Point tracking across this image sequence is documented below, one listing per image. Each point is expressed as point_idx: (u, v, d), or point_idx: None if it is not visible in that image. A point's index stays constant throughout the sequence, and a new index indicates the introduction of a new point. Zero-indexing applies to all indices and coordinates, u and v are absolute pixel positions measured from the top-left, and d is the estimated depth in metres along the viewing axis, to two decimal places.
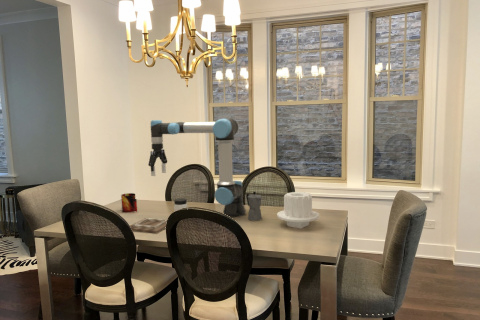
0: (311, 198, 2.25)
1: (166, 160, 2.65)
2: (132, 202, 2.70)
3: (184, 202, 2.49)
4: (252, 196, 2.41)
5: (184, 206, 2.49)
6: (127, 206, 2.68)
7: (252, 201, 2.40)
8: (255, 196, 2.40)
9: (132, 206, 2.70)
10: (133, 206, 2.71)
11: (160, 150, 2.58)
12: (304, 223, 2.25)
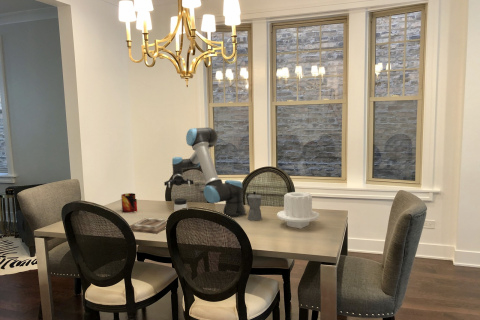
0: (311, 198, 2.25)
1: (191, 180, 2.70)
2: (132, 202, 2.70)
3: (184, 202, 2.49)
4: (252, 196, 2.41)
5: (184, 206, 2.49)
6: (127, 206, 2.68)
7: (252, 201, 2.40)
8: (255, 196, 2.40)
9: (132, 206, 2.70)
10: (133, 206, 2.71)
11: (181, 179, 2.76)
12: (304, 223, 2.25)
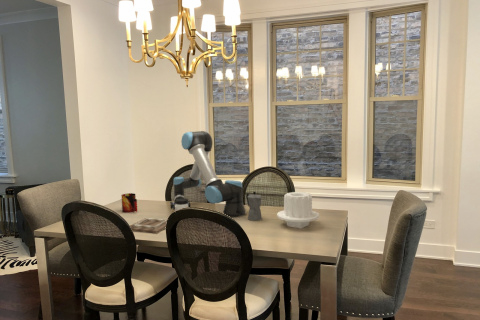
0: (311, 198, 2.25)
1: (188, 203, 2.58)
2: (132, 202, 2.70)
3: (186, 202, 2.50)
4: (252, 196, 2.41)
5: (186, 206, 2.50)
6: (127, 206, 2.68)
7: (252, 201, 2.40)
8: (255, 196, 2.40)
9: (132, 206, 2.70)
10: (133, 206, 2.70)
11: None
12: (304, 223, 2.25)
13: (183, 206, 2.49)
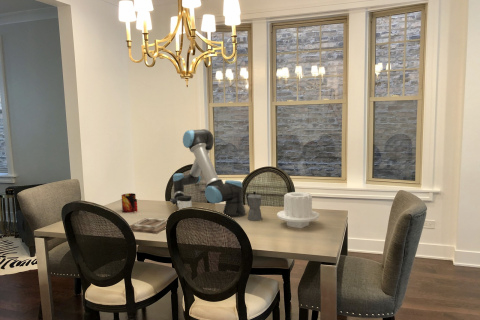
0: (311, 198, 2.25)
1: None
2: (132, 202, 2.69)
3: (189, 199, 2.49)
4: (252, 196, 2.41)
5: (189, 203, 2.49)
6: (127, 206, 2.68)
7: (252, 201, 2.40)
8: (255, 196, 2.40)
9: (132, 206, 2.70)
10: (133, 206, 2.70)
11: None
12: (304, 223, 2.25)
13: (186, 203, 2.48)
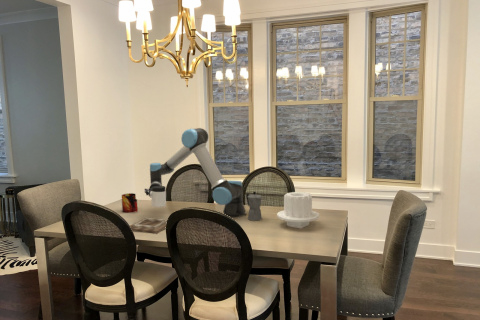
0: (311, 198, 2.25)
1: None
2: (132, 202, 2.69)
3: (162, 189, 2.33)
4: (252, 196, 2.41)
5: (162, 194, 2.33)
6: (127, 206, 2.68)
7: (252, 201, 2.40)
8: (255, 196, 2.40)
9: (132, 206, 2.70)
10: (133, 206, 2.70)
11: None
12: (304, 223, 2.25)
13: (159, 194, 2.32)
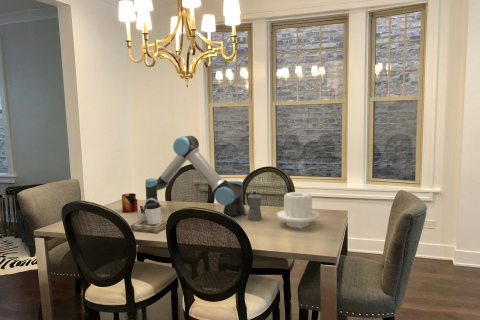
0: (311, 198, 2.25)
1: None
2: (133, 202, 2.69)
3: (157, 206, 2.29)
4: (252, 196, 2.41)
5: (157, 210, 2.29)
6: (128, 206, 2.68)
7: (252, 201, 2.40)
8: (255, 196, 2.40)
9: (133, 206, 2.69)
10: (133, 206, 2.70)
11: None
12: (304, 223, 2.25)
13: (153, 211, 2.28)
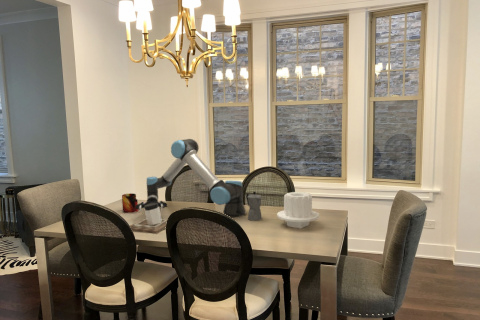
0: (311, 198, 2.25)
1: (165, 203, 2.53)
2: (133, 202, 2.69)
3: (155, 206, 2.29)
4: (252, 196, 2.41)
5: (156, 210, 2.29)
6: (128, 206, 2.68)
7: (252, 201, 2.40)
8: (255, 196, 2.40)
9: (133, 206, 2.69)
10: (134, 206, 2.70)
11: None
12: (304, 223, 2.25)
13: (152, 211, 2.28)
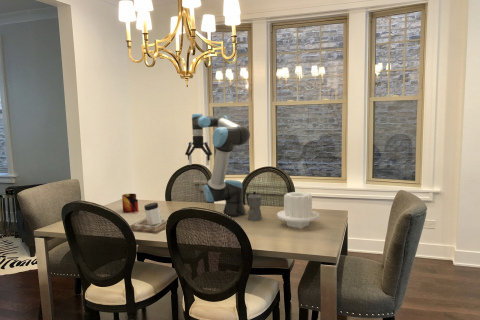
0: (311, 198, 2.25)
1: (209, 153, 2.68)
2: (133, 202, 2.69)
3: (155, 206, 2.29)
4: (252, 196, 2.41)
5: (156, 210, 2.29)
6: (128, 206, 2.67)
7: (252, 201, 2.40)
8: (255, 196, 2.40)
9: (133, 206, 2.69)
10: (134, 206, 2.70)
11: (199, 142, 2.70)
12: (304, 223, 2.25)
13: (152, 211, 2.28)
